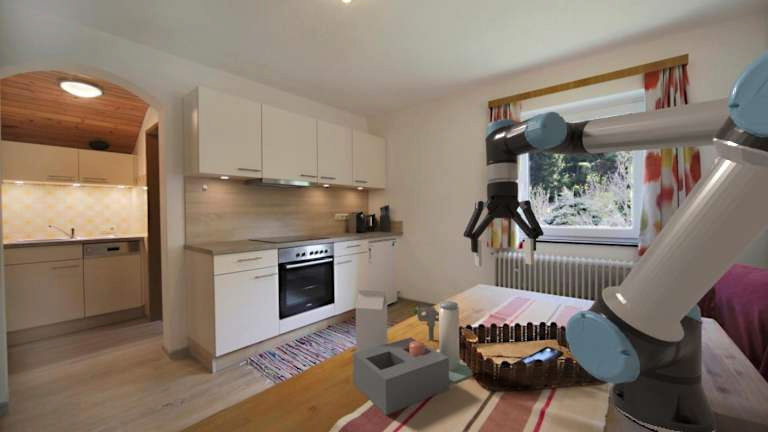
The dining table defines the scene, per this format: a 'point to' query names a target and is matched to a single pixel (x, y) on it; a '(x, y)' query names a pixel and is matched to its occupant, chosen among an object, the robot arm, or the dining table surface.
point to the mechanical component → (428, 318)
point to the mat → (460, 373)
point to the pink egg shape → (416, 348)
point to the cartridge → (449, 333)
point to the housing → (399, 375)
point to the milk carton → (371, 319)
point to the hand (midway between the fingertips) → (504, 264)
